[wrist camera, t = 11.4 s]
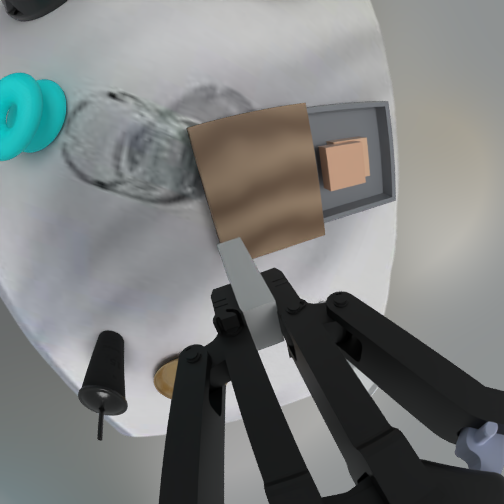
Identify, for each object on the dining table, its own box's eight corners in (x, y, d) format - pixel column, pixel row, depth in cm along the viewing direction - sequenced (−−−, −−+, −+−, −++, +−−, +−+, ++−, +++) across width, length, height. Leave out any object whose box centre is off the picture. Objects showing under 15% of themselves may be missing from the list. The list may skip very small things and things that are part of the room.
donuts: (51, 96, 16) (5, 180, 18) (83, 102, 25) (43, 164, 27) (3, 58, 12) (-37, 137, 13) (40, 69, 20) (4, 129, 22)
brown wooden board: (186, 128, 31) (187, 127, 26) (289, 105, 32) (305, 102, 28) (222, 250, 39) (228, 266, 35) (309, 222, 41) (325, 234, 37)
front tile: (362, 141, 33) (353, 140, 34) (325, 147, 32) (318, 146, 34) (365, 182, 35) (357, 179, 37) (331, 191, 35) (323, 187, 36)
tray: (291, 109, 33) (300, 108, 30) (375, 101, 35) (388, 101, 32) (310, 217, 41) (319, 224, 38) (384, 195, 43) (395, 200, 40)
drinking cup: (123, 360, 44) (118, 454, 27) (87, 344, 40) (69, 438, 23) (138, 335, 42) (134, 438, 25) (98, 317, 39) (77, 420, 21)
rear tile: (366, 137, 35) (358, 136, 36) (333, 142, 34) (326, 141, 35) (369, 175, 37) (362, 173, 39) (338, 183, 37) (331, 180, 38)
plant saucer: (180, 337, 45) (181, 347, 43) (240, 364, 52) (243, 374, 50) (140, 378, 47) (140, 387, 45) (197, 399, 54) (199, 408, 52)
